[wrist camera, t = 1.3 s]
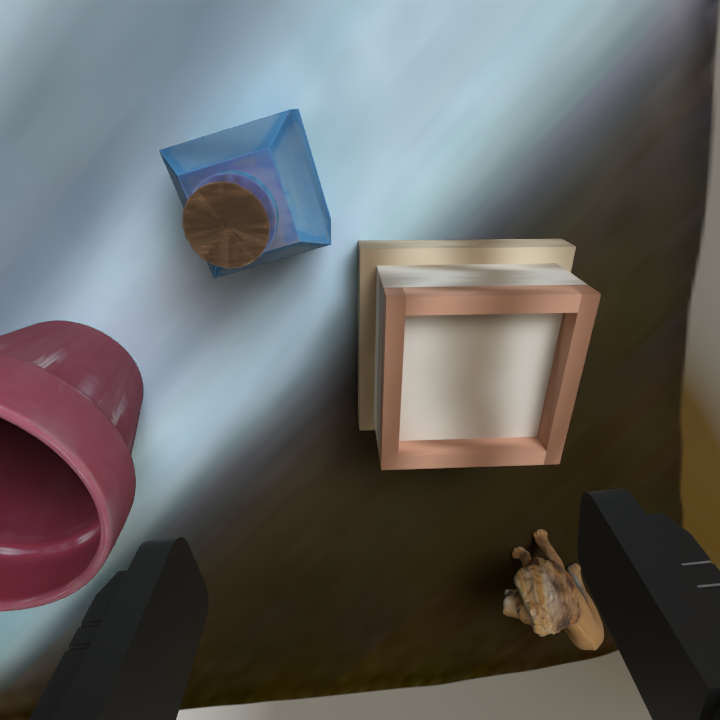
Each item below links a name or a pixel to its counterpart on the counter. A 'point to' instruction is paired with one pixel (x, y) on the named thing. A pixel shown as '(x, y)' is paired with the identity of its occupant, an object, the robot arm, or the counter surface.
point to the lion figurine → (553, 597)
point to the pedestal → (470, 350)
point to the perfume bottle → (250, 193)
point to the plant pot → (63, 457)
